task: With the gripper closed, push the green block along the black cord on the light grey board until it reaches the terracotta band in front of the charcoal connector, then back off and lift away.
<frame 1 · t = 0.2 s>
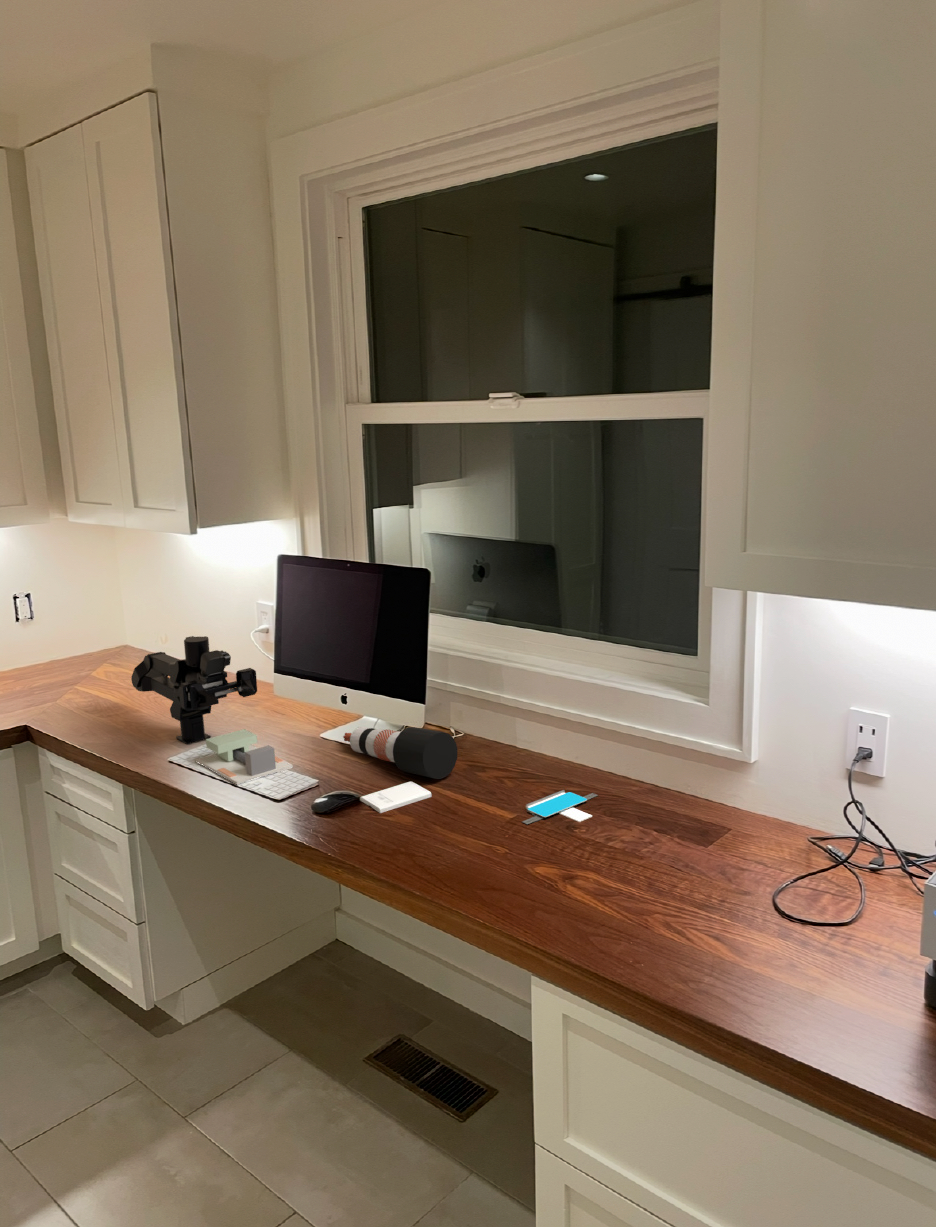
hand: (236, 697, 212), 16 cm above the worktop, tool horizontal, fingers open, 9 cm apart
banded black grey cylinder: (392, 764, 213), on the worktop
phone stand: (563, 813, 185), on the worktop
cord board: (243, 765, 215), on the worktop
external hard drive: (396, 802, 193), on the worktop
green block: (232, 746, 218), point 3 cm above the worktop, slide at 0.0 cm
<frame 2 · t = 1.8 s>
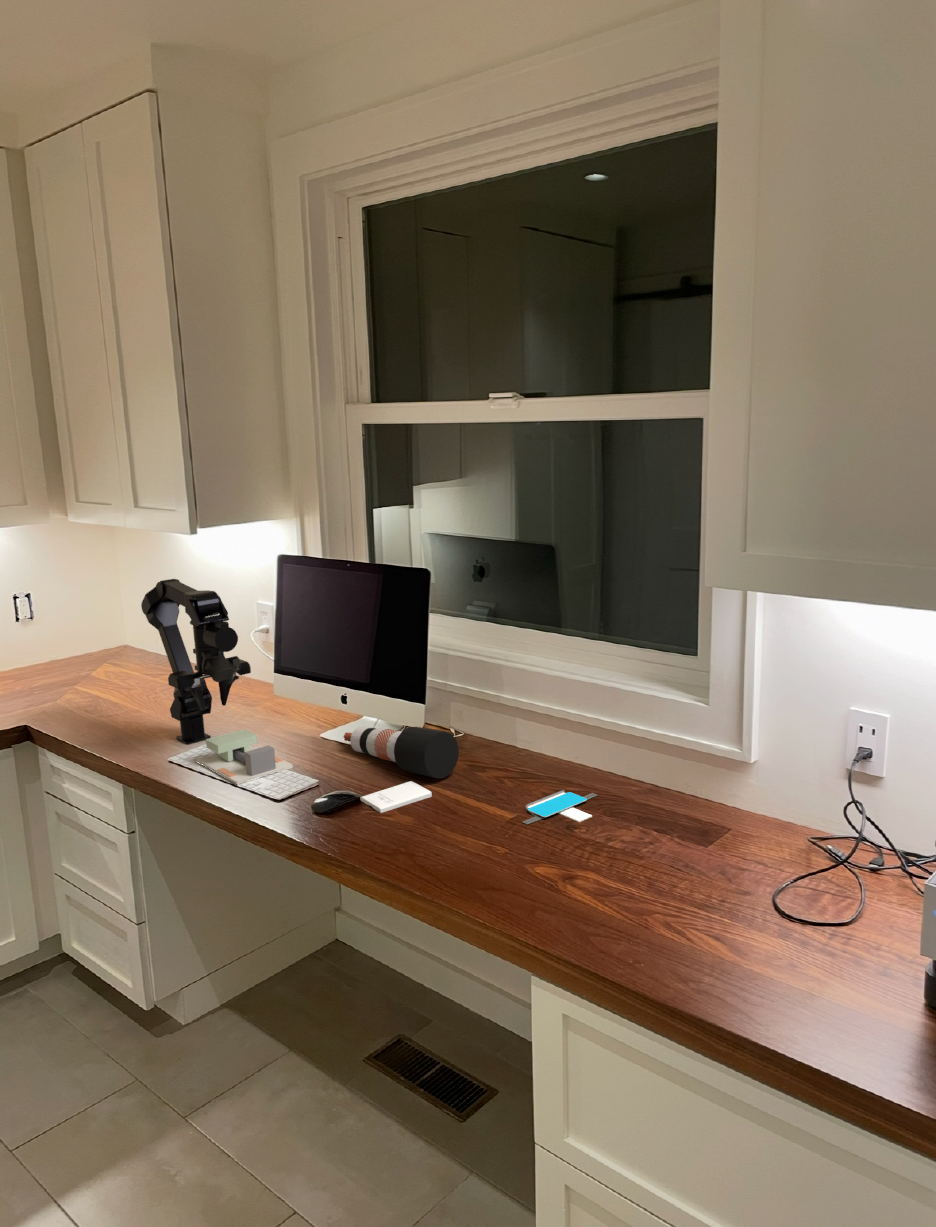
hand: (213, 708, 222), 11 cm above the worktop, tool pointing down, fingers open, 5 cm apart
nothing on the worktop moved.
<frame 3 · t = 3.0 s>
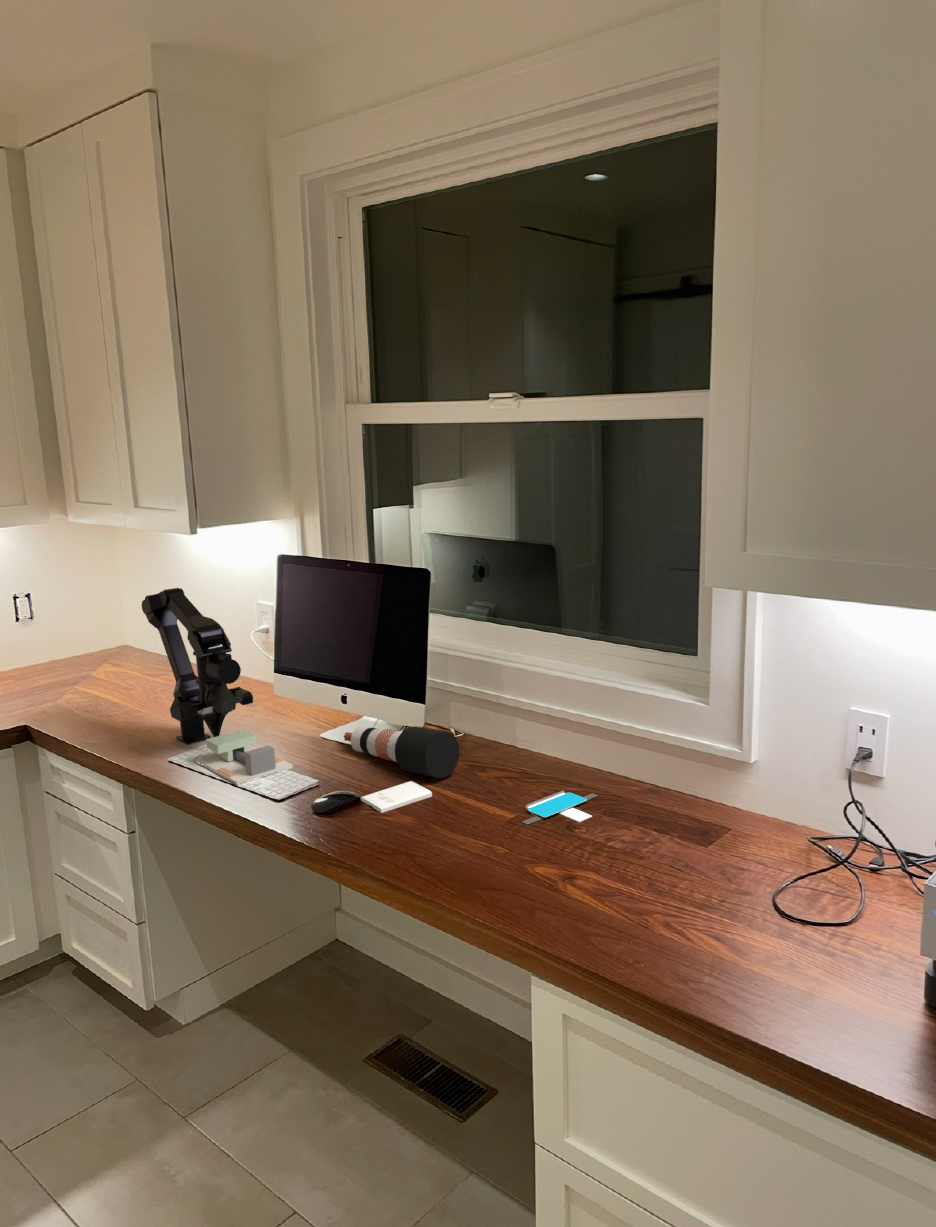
hand: (216, 737, 223), 3 cm above the worktop, tool pointing down, fingers closed
nothing on the worktop moved.
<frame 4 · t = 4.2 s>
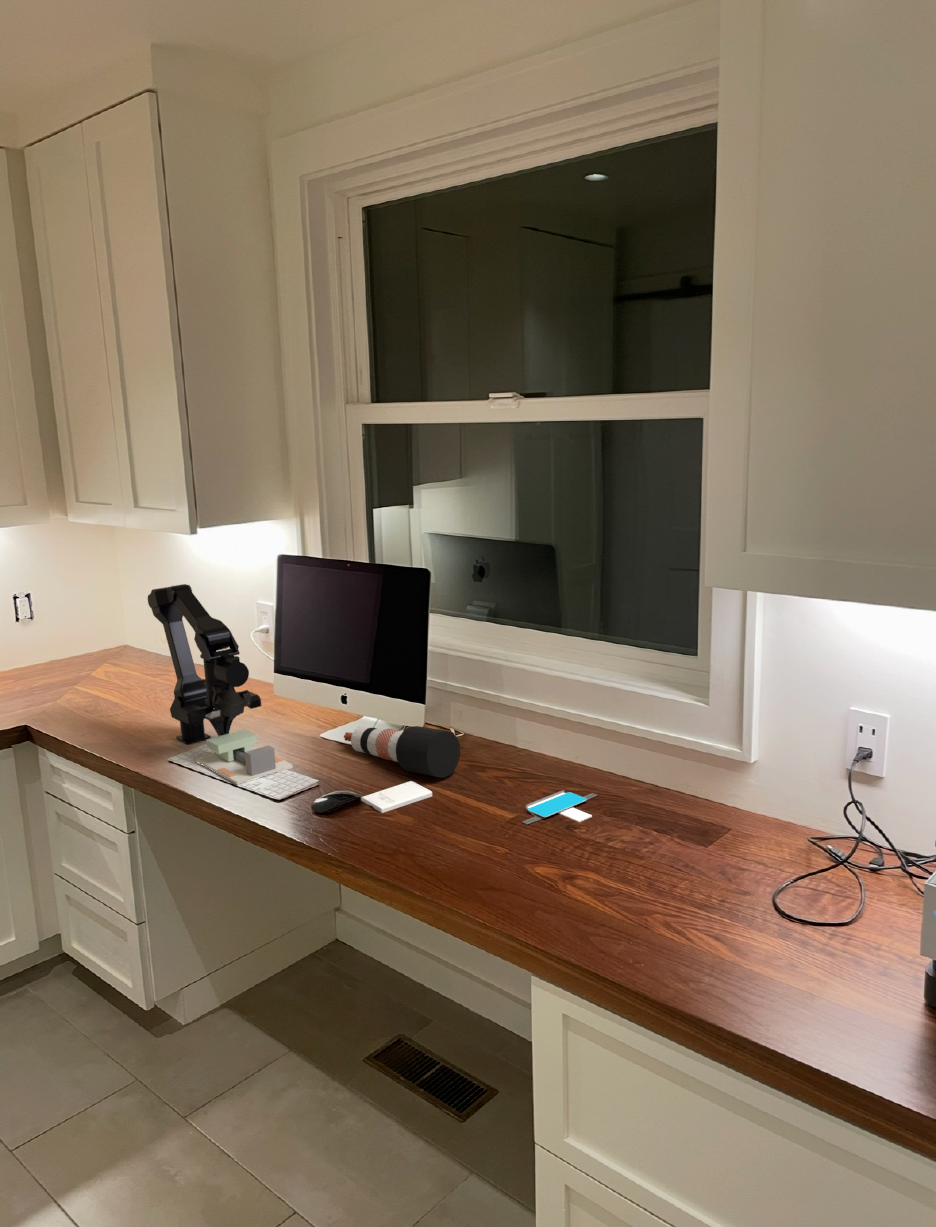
hand: (223, 741, 221), 3 cm above the worktop, tool pointing down, fingers closed, pressing on green block
green block: (232, 746, 217), point 3 cm above the worktop, slide at 0.2 cm, touching gripper
everything else where it was.
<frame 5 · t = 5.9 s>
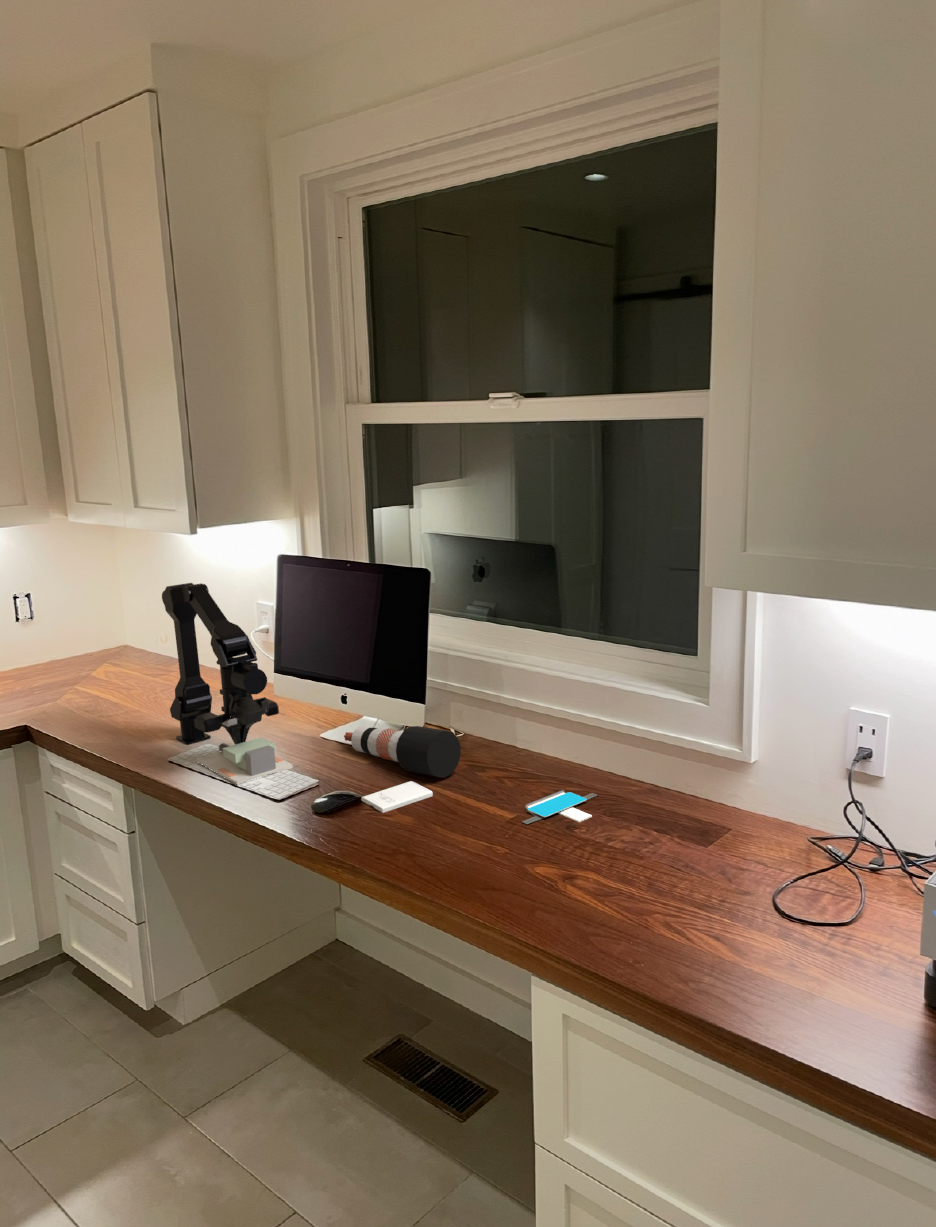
hand: (240, 750, 215), 3 cm above the worktop, tool pointing down, fingers closed, pressing on green block
green block: (249, 755, 211), point 3 cm above the worktop, slide at 8.4 cm, touching gripper
everything else where it was.
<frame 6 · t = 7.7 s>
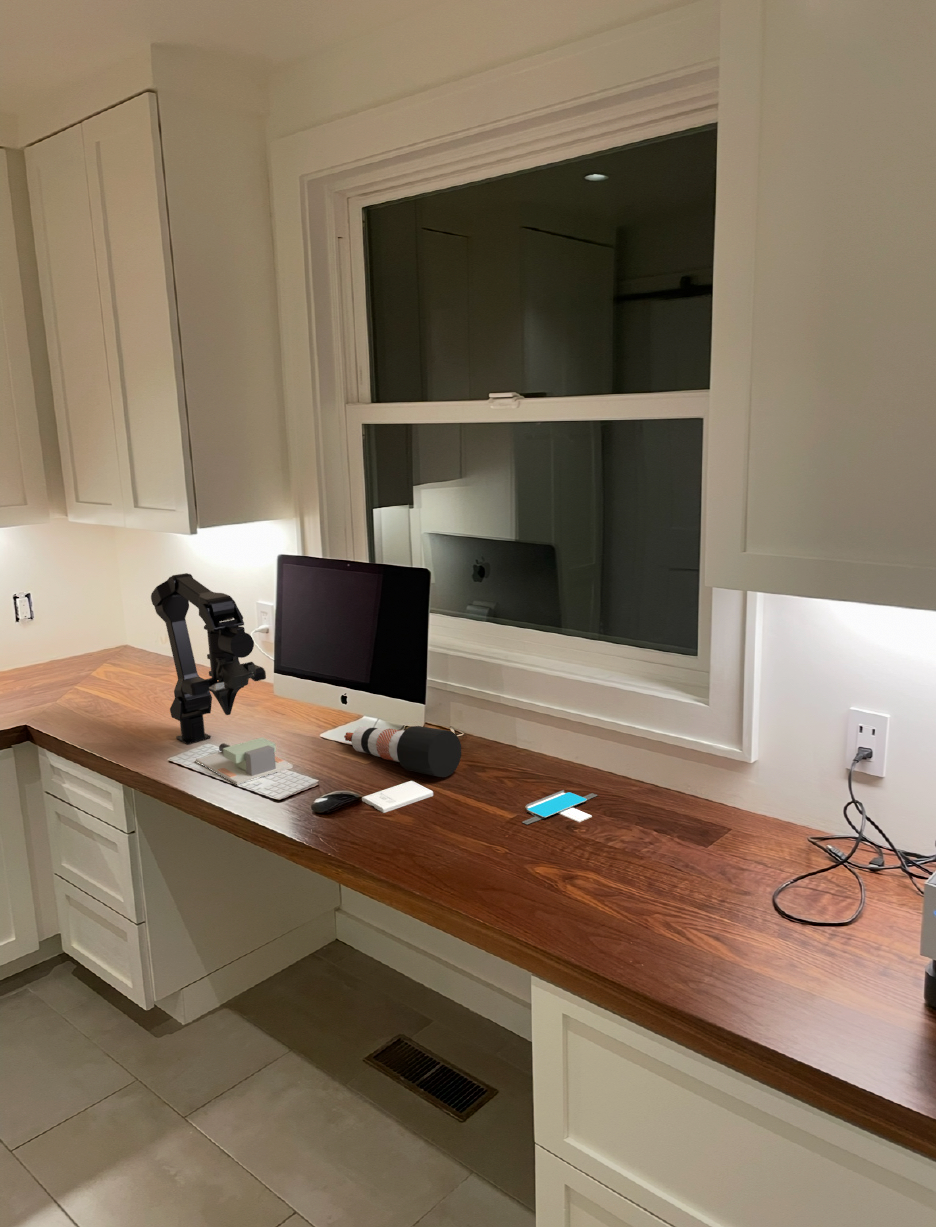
hand: (227, 714, 217), 11 cm above the worktop, tool pointing down, fingers closed
green block: (250, 755, 211), point 3 cm above the worktop, slide at 8.5 cm
everything else where it was.
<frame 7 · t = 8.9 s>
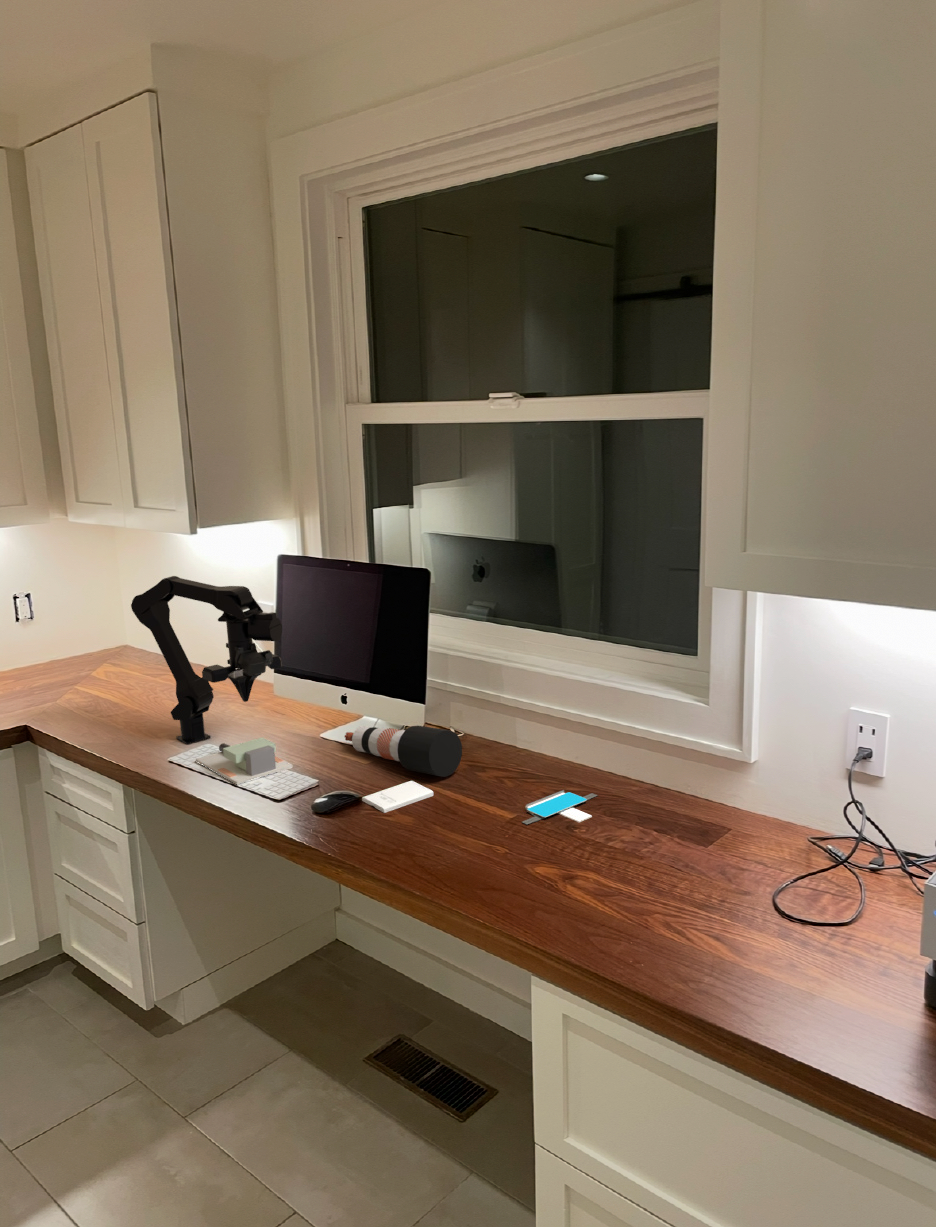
hand: (245, 701, 226), 11 cm above the worktop, tool pointing down, fingers closed
nothing on the worktop moved.
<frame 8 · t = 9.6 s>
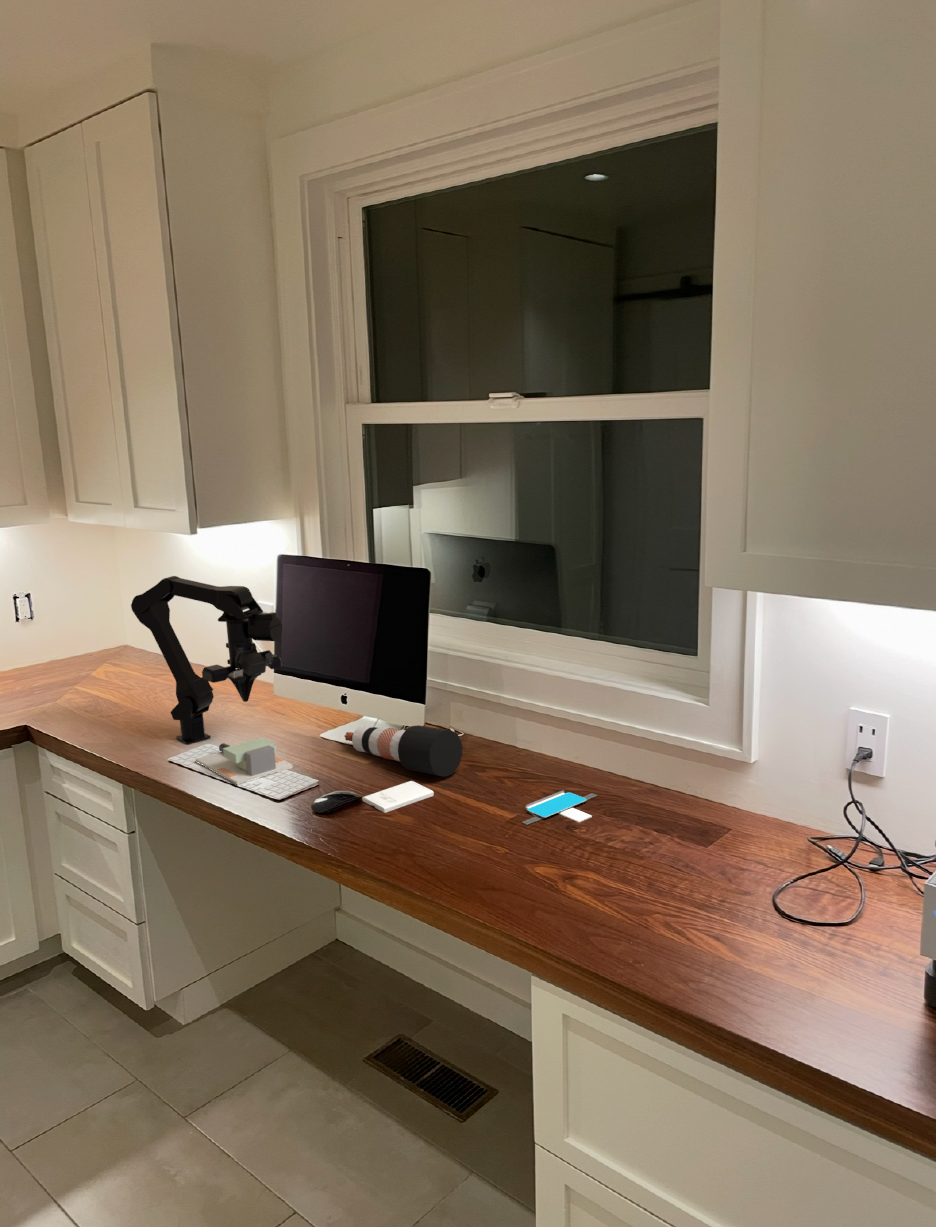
hand: (245, 701, 226), 11 cm above the worktop, tool pointing down, fingers closed
nothing on the worktop moved.
at the end: green block slide at 8.5 cm; the gripper is holding nothing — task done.
